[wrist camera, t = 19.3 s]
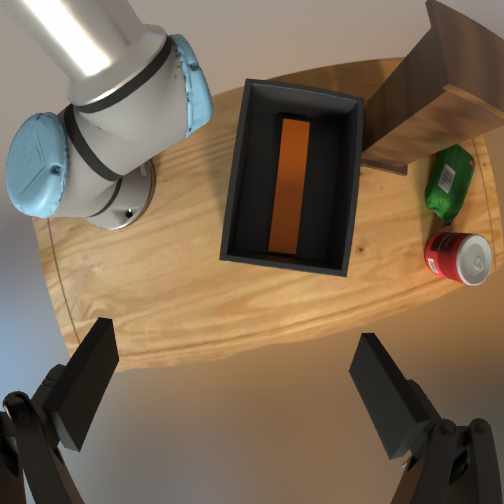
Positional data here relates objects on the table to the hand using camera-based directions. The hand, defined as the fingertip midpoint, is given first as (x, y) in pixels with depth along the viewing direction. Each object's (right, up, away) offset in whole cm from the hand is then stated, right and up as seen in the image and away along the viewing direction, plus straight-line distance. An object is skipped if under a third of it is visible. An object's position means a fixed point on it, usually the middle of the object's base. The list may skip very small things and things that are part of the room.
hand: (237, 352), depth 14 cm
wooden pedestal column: (+22, +24, +29) cm, 44 cm away
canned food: (+34, +5, +31) cm, 46 cm away
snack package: (+35, +18, +29) cm, 49 cm away
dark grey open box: (+6, +16, +31) cm, 35 cm away
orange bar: (+6, +15, +30) cm, 34 cm away
